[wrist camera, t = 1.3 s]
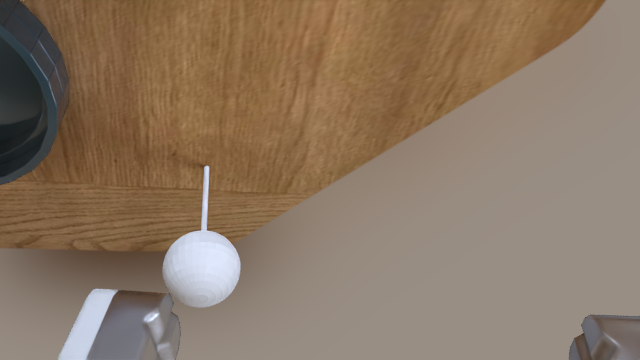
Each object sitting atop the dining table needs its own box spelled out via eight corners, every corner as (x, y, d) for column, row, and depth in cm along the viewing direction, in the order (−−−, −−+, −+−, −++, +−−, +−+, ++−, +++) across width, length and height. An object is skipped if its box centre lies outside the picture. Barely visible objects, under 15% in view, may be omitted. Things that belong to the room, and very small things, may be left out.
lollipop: (186, 133, 49) (174, 265, 38) (248, 152, 51) (254, 282, 40) (165, 182, 52) (148, 316, 41) (224, 198, 54) (223, 329, 43)
